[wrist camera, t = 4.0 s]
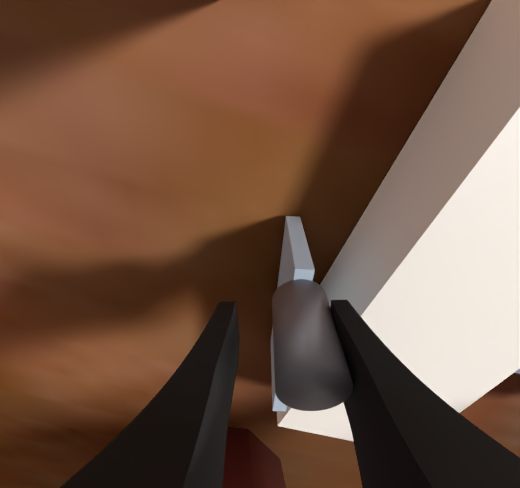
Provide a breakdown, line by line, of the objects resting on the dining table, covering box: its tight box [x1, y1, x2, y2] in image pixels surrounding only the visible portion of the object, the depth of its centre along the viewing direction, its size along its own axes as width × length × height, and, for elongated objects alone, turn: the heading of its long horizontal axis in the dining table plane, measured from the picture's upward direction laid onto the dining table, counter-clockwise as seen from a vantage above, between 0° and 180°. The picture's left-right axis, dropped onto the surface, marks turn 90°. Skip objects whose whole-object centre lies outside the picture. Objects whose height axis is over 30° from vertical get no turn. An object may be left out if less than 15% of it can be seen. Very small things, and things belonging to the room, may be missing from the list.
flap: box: [271, 216, 353, 411], centre depth 14 cm, size 2×10×9 cm, turn 176°
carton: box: [277, 0, 520, 441], centre depth 15 cm, size 10×24×5 cm, turn 160°
